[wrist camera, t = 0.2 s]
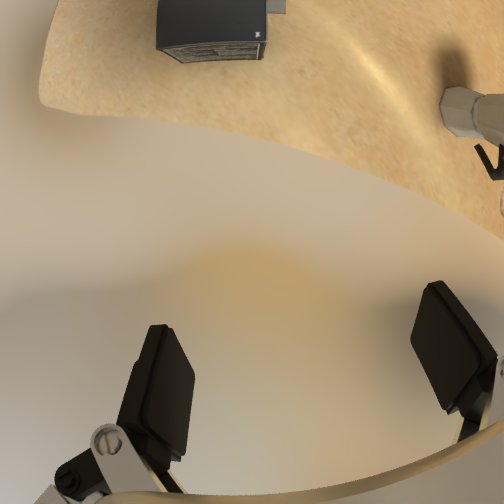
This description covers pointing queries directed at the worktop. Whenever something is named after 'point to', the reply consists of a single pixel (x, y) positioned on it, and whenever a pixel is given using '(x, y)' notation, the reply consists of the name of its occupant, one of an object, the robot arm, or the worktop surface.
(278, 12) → the mat
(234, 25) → the small box
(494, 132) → the coffee maker
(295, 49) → the worktop surface
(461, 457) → the robot arm
